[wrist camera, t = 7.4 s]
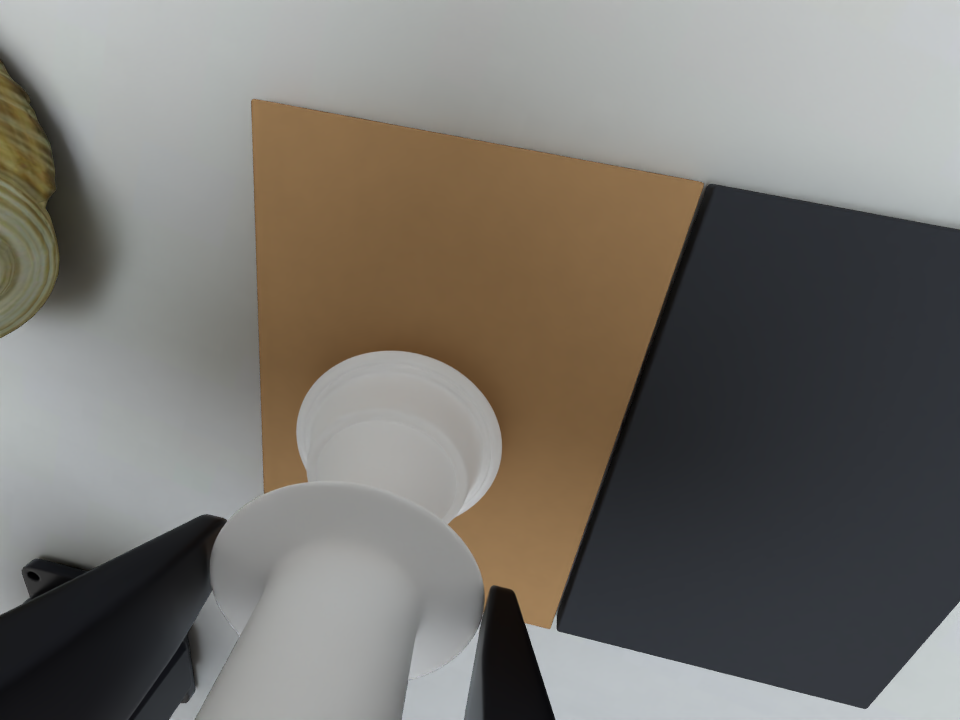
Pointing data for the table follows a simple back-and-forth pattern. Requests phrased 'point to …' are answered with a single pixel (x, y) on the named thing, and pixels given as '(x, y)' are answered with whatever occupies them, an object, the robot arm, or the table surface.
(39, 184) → the seashell
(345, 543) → the candle
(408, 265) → the sorting mat
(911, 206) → the table surface
